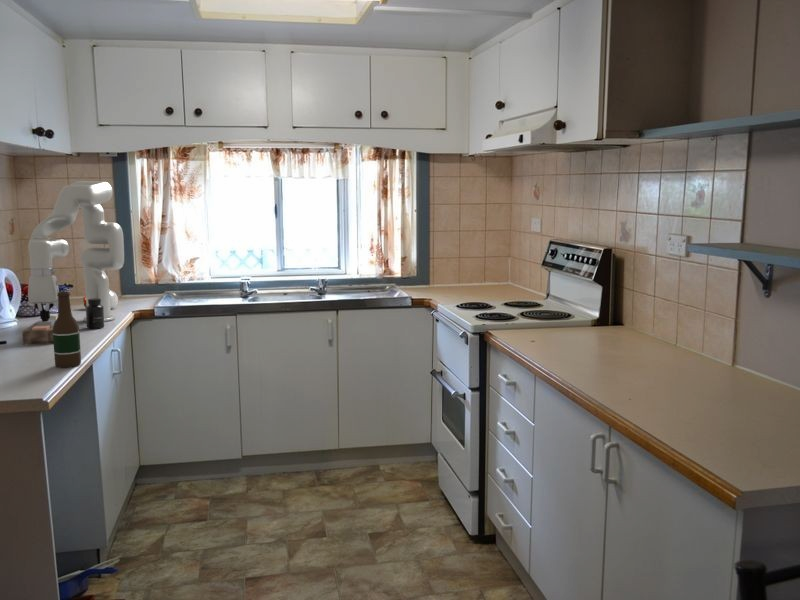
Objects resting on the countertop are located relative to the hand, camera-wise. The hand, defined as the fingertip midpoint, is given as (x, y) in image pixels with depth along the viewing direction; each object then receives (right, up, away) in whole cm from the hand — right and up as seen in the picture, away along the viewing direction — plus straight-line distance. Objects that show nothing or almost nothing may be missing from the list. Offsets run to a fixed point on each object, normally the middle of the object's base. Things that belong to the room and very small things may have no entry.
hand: (45, 320), depth 270 cm
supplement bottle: (+9, -4, +23) cm, 25 cm away
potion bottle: (-7, +3, +68) cm, 69 cm away
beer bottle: (+28, -13, -41) cm, 51 cm away
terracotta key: (+2, -6, -6) cm, 9 cm away
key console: (0, -7, +1) cm, 7 cm away
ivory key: (-2, -2, +7) cm, 8 cm away
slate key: (0, -4, +1) cm, 4 cm away
